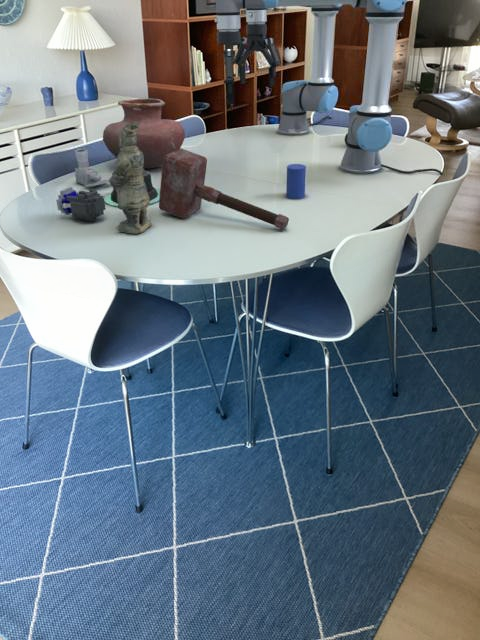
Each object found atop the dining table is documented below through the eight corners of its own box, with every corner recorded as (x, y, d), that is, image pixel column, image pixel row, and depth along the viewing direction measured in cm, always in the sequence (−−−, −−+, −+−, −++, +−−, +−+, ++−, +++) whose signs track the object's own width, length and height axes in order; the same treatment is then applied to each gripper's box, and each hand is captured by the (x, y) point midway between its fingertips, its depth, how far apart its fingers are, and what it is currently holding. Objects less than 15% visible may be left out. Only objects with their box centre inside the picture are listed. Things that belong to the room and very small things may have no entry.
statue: (131, 220, 168) (117, 116, 152) (158, 224, 164) (147, 118, 149) (109, 233, 159) (93, 124, 144) (138, 237, 156) (124, 126, 140)
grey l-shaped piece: (86, 146, 202) (111, 153, 193) (91, 178, 208) (115, 186, 199) (65, 151, 196) (90, 158, 187) (70, 183, 202) (95, 192, 193)
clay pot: (194, 158, 230) (190, 94, 217) (174, 179, 204) (168, 107, 192) (124, 156, 235) (116, 93, 222) (96, 176, 209) (85, 106, 197)
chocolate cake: (91, 202, 180) (113, 186, 197) (142, 231, 182) (160, 212, 199) (107, 162, 172) (129, 148, 190) (160, 192, 174) (177, 176, 192)
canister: (285, 199, 183) (286, 168, 178) (286, 193, 188) (287, 163, 183) (304, 199, 182) (305, 169, 177) (305, 193, 187) (306, 164, 182)
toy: (69, 184, 172) (107, 190, 166) (73, 210, 176) (111, 217, 170) (49, 192, 165) (88, 198, 160) (54, 219, 170) (93, 226, 164)
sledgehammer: (299, 190, 156) (179, 147, 167) (285, 200, 148) (161, 154, 160) (286, 244, 166) (174, 200, 177) (272, 256, 158) (156, 209, 170)
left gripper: (223, 23, 209) (225, 84, 220) (279, 24, 196) (278, 88, 207) (235, 22, 214) (237, 81, 225) (290, 23, 201) (289, 85, 212)
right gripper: (218, 28, 188) (220, 95, 198) (215, 33, 166) (218, 107, 177) (240, 28, 188) (241, 95, 198) (240, 32, 166) (242, 107, 177)
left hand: (256, 85), depth 216 cm, fingers open, 13 cm apart
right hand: (230, 101), depth 188 cm, fingers open, 13 cm apart
